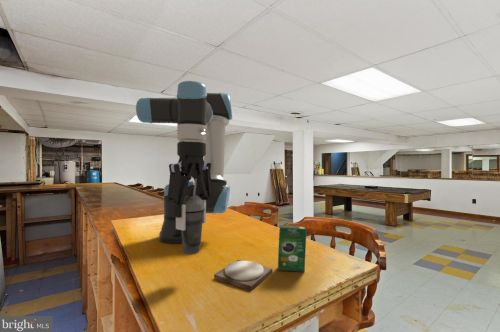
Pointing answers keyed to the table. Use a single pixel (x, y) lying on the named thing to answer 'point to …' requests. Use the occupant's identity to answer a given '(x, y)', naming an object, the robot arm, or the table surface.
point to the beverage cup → (192, 223)
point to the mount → (243, 274)
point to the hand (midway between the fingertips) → (191, 225)
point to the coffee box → (292, 248)
